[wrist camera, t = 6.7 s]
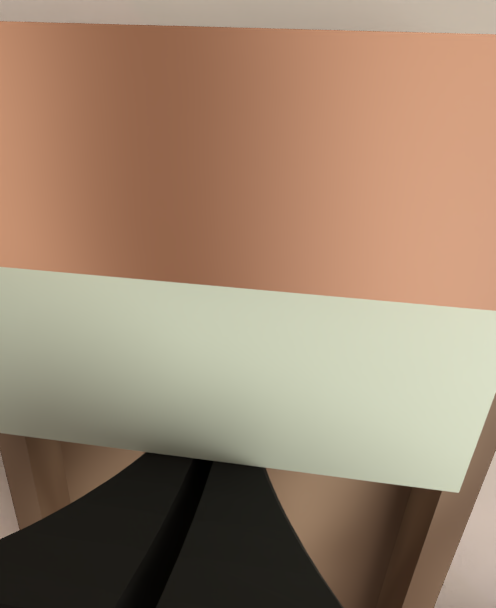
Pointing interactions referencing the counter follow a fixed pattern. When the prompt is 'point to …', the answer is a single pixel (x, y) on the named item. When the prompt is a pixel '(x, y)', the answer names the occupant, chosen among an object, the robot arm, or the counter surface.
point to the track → (260, 222)
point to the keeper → (247, 375)
